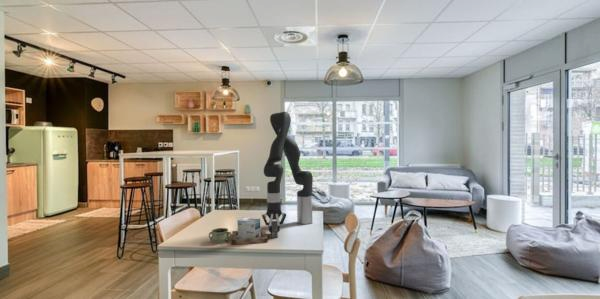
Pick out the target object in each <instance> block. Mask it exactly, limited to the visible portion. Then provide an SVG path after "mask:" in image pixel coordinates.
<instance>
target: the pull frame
mask: <svg viewBox="0 0 600 299" xmlns="http://www.w3.org/2000/svg"><path fill="white" fill-rule="evenodd" d="M271 226H272V233H270V232H269V233H267V232H266V229H262V228H260V232H261V238H250V239H238V238H237V237H238V230H233V231H232V232H231V234H232V236H231V245H233V246H234V245H235V246H236V245H248V244H249V245H250V244H262V243H263V244H265V243H269V242H268V241H269V240H268V239H278V238H279V235H278V234H279V232H278V223H277V221H276V220H272V224H271Z"/></svg>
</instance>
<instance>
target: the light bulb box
mask: <svg viewBox="0 0 600 299" xmlns="http://www.w3.org/2000/svg"><path fill="white" fill-rule="evenodd" d="M260 229H261V218H257V217H254V218H253V217H241V218H239V219H237V231H238V235H237V239H250V238H262V234H261V232H260Z"/></svg>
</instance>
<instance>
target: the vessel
mask: <svg viewBox="0 0 600 299" xmlns="http://www.w3.org/2000/svg"><path fill="white" fill-rule="evenodd" d="M208 237H209V240H210V241H211V242H212V243H213V244H216V245H221V244H226V243H227V242H229V241H231V239H232V232H231V231H229V229H228V228H226V227H217V228H214V229H212V230H211V231H210V232H209V234H208Z"/></svg>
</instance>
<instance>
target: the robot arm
mask: <svg viewBox="0 0 600 299" xmlns="http://www.w3.org/2000/svg"><path fill="white" fill-rule="evenodd" d="M291 118H292V117H291V115H290V113H289V112H288V111H282V112H281V111H280V112H275V113H272V114H271V115H270V116H269V121H270V125H271V127H272V129H273V131H274V133H275V135H276V137H275V138H274V140H273V141H272V143H271V146H270V150H269V156H268V158H267V160H266V163H265V164H264V166H263V174H264V176H265V177H267V178H274V180H271V181H268V182H267V183H266V187H267V188H266V191H267V192H266V212H265V213H263V214H261V217H262V220H263V221H264V224H265V226H268V231H269V234H270V233H272V226H271V224H272V221H277V223H278V233H279V232H280V226H281V225H283V224H284V222H285V220H286V218H287V213H286V212H282V204H281V203H282V198H281V183H282V178H283V175H284V167H283V165H282V164H280V163H278V162H281V161H282V158H283V153H284V155H285V158H286V160H287V163H288V165H289V167H290V168H289V169H290V170H291V175H292V177H293V180H294V183H295V184H296V185H298V186H299V185H300V186H303V187H302V189H299V190H298V191H297V192H296V208H297V210H296V215H297V216H296V217H297V220H296V221H297V224H300V225H308V224H309V225H310V224H313V206H312V193H313V183H314V180H313V179H314V178H313V173H312V172H311V171H309V170H301V168H300V164H299V161H300V158H301V150H300V148H299V146H298V143H297V142H296V141H295V140H294V139H293V138H292V137H291V136H290V135H289V134H288V133H289V130H290V127H291V123H292V119H291ZM267 217H268V218H269V220H268V221H267ZM280 217H281V219H280Z"/></svg>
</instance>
